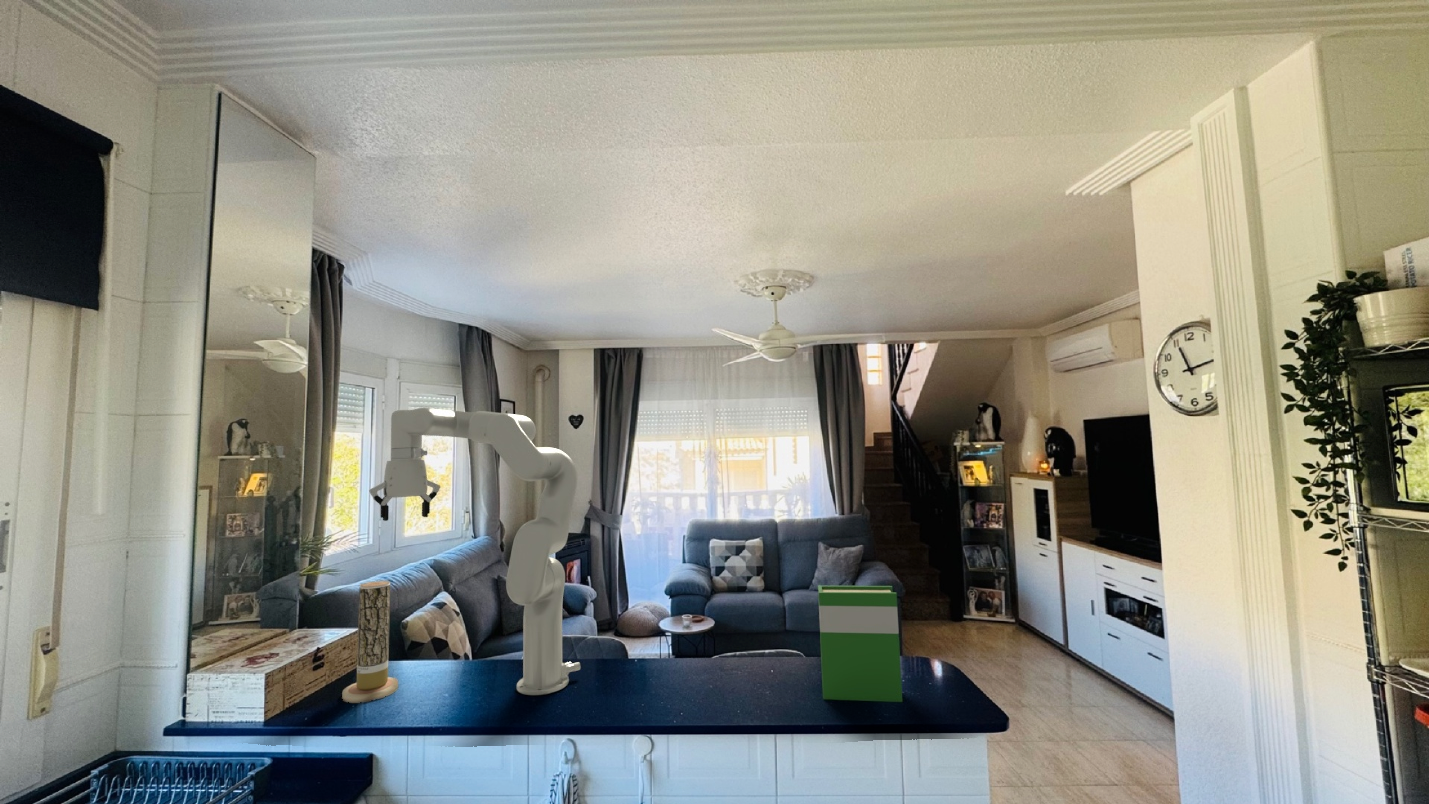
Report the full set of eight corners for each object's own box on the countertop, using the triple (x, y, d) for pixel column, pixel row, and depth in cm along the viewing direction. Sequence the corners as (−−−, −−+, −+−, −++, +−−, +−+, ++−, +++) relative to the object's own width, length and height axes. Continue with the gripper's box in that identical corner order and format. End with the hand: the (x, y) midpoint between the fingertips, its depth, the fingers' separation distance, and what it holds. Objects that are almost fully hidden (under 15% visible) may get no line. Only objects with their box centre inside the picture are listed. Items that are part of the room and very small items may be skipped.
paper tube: (373, 692, 141) (376, 587, 143) (349, 690, 142) (352, 586, 144) (394, 681, 147) (396, 581, 150) (370, 679, 149) (373, 580, 151)
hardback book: (897, 688, 138) (891, 586, 140) (902, 702, 131) (896, 593, 133) (822, 686, 141) (818, 585, 143) (823, 699, 133) (818, 592, 136)
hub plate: (393, 679, 153) (393, 673, 153) (402, 693, 144) (402, 686, 144) (339, 692, 145) (339, 685, 146) (345, 707, 136) (345, 700, 136)
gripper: (436, 454, 166) (435, 514, 165) (367, 456, 155) (366, 521, 154) (444, 454, 161) (443, 516, 159) (373, 455, 149) (372, 522, 148)
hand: (405, 518), depth 156 cm, fingers open, 9 cm apart
